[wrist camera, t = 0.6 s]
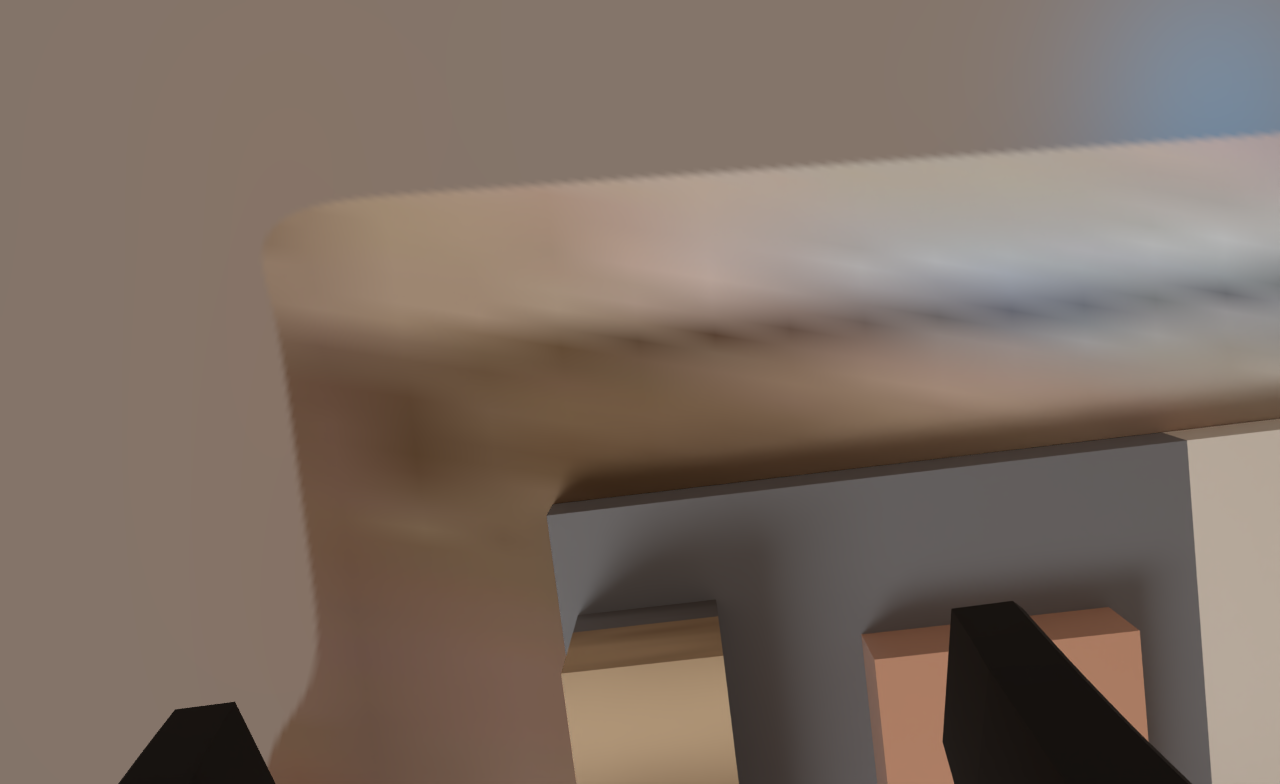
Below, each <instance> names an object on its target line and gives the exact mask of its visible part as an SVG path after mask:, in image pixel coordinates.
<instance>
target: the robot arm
mask: <svg viewBox="0 0 1280 784" xmlns="http://www.w3.org/2000/svg"><path fill="white" fill-rule="evenodd" d="M942 742H943V746H944V749H945V753H946V756H947V760H948V763H949V767H950V770H951V774H952V777H953V781H954V784H1192V783H1191V782H1190V781H1189V780H1188V779H1187V778H1186V777H1185V776H1184V775H1182V774H1181V773H1180V772H1179V771H1178V770H1177V769H1176V768H1175V767H1174V766H1173V765H1172V764H1171V763H1170V762H1169V761H1168V760H1167V759H1166V758H1165V757H1164V756H1163V755H1162V754H1161V753H1160V752H1159V751H1158V750H1157V749H1156V748H1155V747H1154V746H1153V745H1152V744H1151V743H1149V742H1148V741H1147V740H1146V739H1145V738H1144V737H1143V736H1142V735H1141V734H1140V733H1139V732H1138V731H1137V730H1136V729H1135V728H1134V727H1133V726H1132V725H1131V724H1130V723H1129V722H1128V721H1127V720H1126V718H1125V717H1124V716H1123V715H1122V714H1121V713H1120V712H1119V711H1118V710H1117V709H1116V708H1115V707H1114V706H1113V705H1112V704H1111V703H1110V702H1109V701H1108V700H1107V699H1106V698H1105V697H1104V696H1103V695H1102V694H1101V693H1100V692H1099V691H1098V690H1097V688H1096V687H1095V686H1094V685H1093V684H1092V683H1091V682H1090V681H1089V680H1088V679H1087V678H1086V677H1085V676H1084V675H1083V674H1082V673H1081V672H1080V671H1079V669H1078V668H1077V667H1076V666H1075V665H1074V664H1073V663H1072V662H1071V661H1070V660H1069V659H1068V658H1067V657H1066V655H1065V654H1064V653H1063V652H1062V651H1061V650H1060V649H1059V648H1058V647H1057V646H1056V645H1055V644H1054V642H1053V641H1052V640H1051V639H1050V638H1049V637H1048V636H1047V635H1046V634H1045V632H1044V631H1043V630H1042V629H1041V628H1040V627H1039V626H1038V625H1037V624H1036V622H1035V621H1034V620H1033V619H1032V618H1031V617H1030V616H1029V615H1028V614H1027V612H1026V611H1025V610H1024V609H1023V608H1022V607H1021V606H1019V605H1018V604H1017V603H1015V602H1014V601H1006V602H999V603H991V604H983V605H976V606H968V607H960V608H953V609H951V622H950V637H949V652H948V667H947V681H946V696H945V711H944V726H943V741H942ZM119 784H275V782H274V780H273V778H272V776H271V774H270V772H269V770H268V768H267V766H266V764H265V762H264V760H263V758H262V756H261V754H260V752H259V750H258V748H257V746H256V743H255V742H254V739H253V737H252V735H251V734H250V731H249V729H248V728H247V725H246V723H245V721H244V719H243V717H242V715H241V713H240V711H239V709H238V707H237V705H236V703H235V702H230V703H223V704H215V705H207V706H199V707H192V708H184V709H177V710H175V711H174V712H173V713H172V714H171V716H170V717H169V718H168V719H167V721H166V722H165V723H164V725H163V726H162V727H161V728H160V730H159V731H158V732H157V734H156V735H155V736H154V737H153V739H152V740H151V741H150V743H149V744H148V745H147V747H146V748H145V749H144V750H143V752H142V753H141V754H140V756H139V757H138V758H137V760H136V761H135V762H134V764H133V765H132V766H131V768H130V769H129V770H128V772H127V773H126V774H125V776H124V777H123V778H122V780H121V781H120V782H119Z"/></svg>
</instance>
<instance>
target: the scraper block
mask: <svg viewBox="0 0 1280 784" xmlns="http://www.w3.org/2000/svg"><path fill="white" fill-rule="evenodd" d="M561 676H562V683H563V690H564V697H565V705H566V712H567V719H568V726H569V733H570V741H571V748H572V755H573V762H574V769H575V776H576V784H739V781H738V772H737V764H736V756H735V748H734V740H733V731H732V723H731V715H730V707H729V699H728V691H727V682H726V674H725V666H724V658H723V650H722V642H721V634H720V627H719V619H718V611H717V604H716V600H707V601H698V602H689V603H681V604H672V605H663V606H654V607H645V608H636V609H627V610H619V611H610V612H601V613H592V614H583V615H578V616H577V620H576V623H575V627H574V630H573V634H572V637H571V641H570V645H569V648H568V652H567V655H566V659H565V662H564V666H563V669H562V673H561Z"/></svg>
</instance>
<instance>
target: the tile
mask: <svg viewBox="0 0 1280 784" xmlns="http://www.w3.org/2000/svg"><path fill="white" fill-rule="evenodd" d="M1030 617H1031V618H1032V619H1033V620H1034V621H1035V622H1036V624H1037V625H1038V626H1039V627H1040V628H1041V629H1042V630H1043V631H1044V632H1045V634H1046V635H1047V636H1048V637H1049V638H1050V639H1051V640H1052V641H1053V642H1054V644H1055V645H1056V646H1057V647H1058V648H1059V649H1060V650H1061V651H1062V652H1063V653H1064V654H1065V655H1066V657H1067V658H1068V659H1069V660H1070V661H1071V662H1072V663H1073V664H1074V665H1075V666H1076V667H1077V668H1078V669H1079V671H1080V672H1081V673H1082V674H1083V675H1084V676H1085V677H1086V678H1087V679H1088V680H1089V681H1090V682H1091V683H1092V684H1093V685H1094V686H1095V687H1096V688H1097V690H1098V691H1099V692H1100V693H1101V694H1102V695H1103V696H1104V697H1105V698H1106V699H1107V700H1108V701H1109V702H1110V703H1111V704H1112V705H1113V706H1114V707H1115V708H1116V709H1117V710H1118V711H1119V712H1120V713H1121V714H1122V715H1123V716H1124V717H1125V718H1126V720H1127V721H1128V722H1129V723H1130V724H1131V725H1132V726H1133V727H1134V728H1135V729H1136V730H1137V731H1138V732H1139V733H1140V734H1141V735H1142V736H1143V737H1144V738H1145V739H1146V740H1147V741H1148V728H1147V716H1146V703H1145V690H1144V678H1143V665H1142V652H1141V640H1140V630H1138V629H1137V628H1136V627H1134V626H1133V625H1132V624H1130V623H1129V622H1128V621H1126V620H1125V619H1124V618H1123V617H1121V616H1120V615H1119V614H1117V613H1116V612H1115V611H1113V610H1112V609H1111V608H1109V607H1104V608H1095V609H1086V610H1077V611H1068V612H1059V613H1050V614H1041V615H1032V616H1030ZM861 637H862V646H863V656H864V665H865V674H866V684H867V693H868V702H869V711H870V721H871V730H872V739H873V749H874V758H875V767H876V776H877V784H954V781H953V777H952V774H951V770H950V767H949V763H948V760H947V756H946V753H945V749H944V746H943V742H942V741H943V726H944V711H945V696H946V681H947V667H948V652H949V637H950V625H942V626H933V627H924V628H915V629H906V630H897V631H888V632H879V633H870V634H861ZM1148 742H1149V741H1148Z"/></svg>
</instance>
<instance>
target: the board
mask: <svg viewBox="0 0 1280 784" xmlns="http://www.w3.org/2000/svg"><path fill="white" fill-rule="evenodd" d="M547 521H548V529H549V536H550V543H551V550H552V558H553V565H554V572H555V579H556V586H557V594H558V601H559V608H560V615H561V623H562V630H563V637H564V644H565V652H566V655H567V652H568V648H569V645H570V641H571V637H572V634H573V630H574V627H575V623H576V620H577V616H578V615H583V614H592V613H601V612H610V611H619V610H627V609H636V608H645V607H654V606H663V605H672V604H681V603H689V602H698V601H707V600H716V604H717V611H718V619H719V627H720V634H721V642H722V650H723V658H724V666H725V674H726V682H727V691H728V699H729V707H730V715H731V723H732V731H733V740H734V748H735V756H736V764H737V772H738V781H739V784H877V776H876V767H875V758H874V749H873V739H872V730H871V721H870V711H869V702H868V693H867V684H866V674H865V665H864V656H863V646H862V637H861V634H870V633H879V632H888V631H897V630H906V629H915V628H924V627H933V626H942V625H950V622H951V609H953V608H960V607H968V606H976V605H983V604H991V603H999V602H1006V601H1014V602H1015V603H1017V604H1018V605H1019V606H1021V607H1022V608H1023V609H1024V610H1025V611H1026V612H1027V614H1028V615H1029V616H1032V615H1041V614H1050V613H1059V612H1068V611H1077V610H1086V609H1095V608H1104V607H1109V608H1111V609H1112V610H1113V611H1115V612H1116V613H1117V614H1119V615H1120V616H1121V617H1123V618H1124V619H1125V620H1126V621H1128V622H1129V623H1130V624H1132V625H1133V626H1134V627H1136V628H1137V629H1138V630H1140V640H1141V652H1142V665H1143V678H1144V690H1145V703H1146V716H1147V728H1148V741H1149V743H1151V744H1152V745H1153V746H1154V747H1155V748H1156V749H1157V750H1158V751H1159V752H1160V753H1161V754H1162V755H1163V756H1164V757H1165V758H1166V759H1167V760H1168V761H1169V762H1170V763H1171V764H1172V765H1173V766H1174V767H1175V768H1176V769H1177V770H1178V771H1179V772H1180V773H1181V774H1182V775H1184V776H1185V777H1186V778H1187V779H1188V780H1189V781H1190V782H1191V783H1192V784H1280V419H1272V420H1264V421H1255V422H1247V423H1238V424H1230V425H1221V426H1213V427H1204V428H1196V429H1187V430H1179V431H1170V432H1162V433H1153V434H1145V435H1137V436H1128V437H1120V438H1111V439H1103V440H1094V441H1086V442H1077V443H1069V444H1060V445H1052V446H1043V447H1035V448H1026V449H1018V450H1009V451H1001V452H992V453H984V454H975V455H967V456H958V457H950V458H942V459H933V460H925V461H916V462H908V463H899V464H891V465H882V466H874V467H865V468H857V469H848V470H840V471H831V472H823V473H814V474H806V475H797V476H789V477H780V478H772V479H763V480H755V481H747V482H738V483H730V484H721V485H713V486H704V487H696V488H687V489H679V490H670V491H662V492H653V493H645V494H636V495H628V496H619V497H611V498H602V499H594V500H585V501H577V502H569V503H560V504H553V505H552V507H551V509H550V510H549V512H548V514H547Z"/></svg>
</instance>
